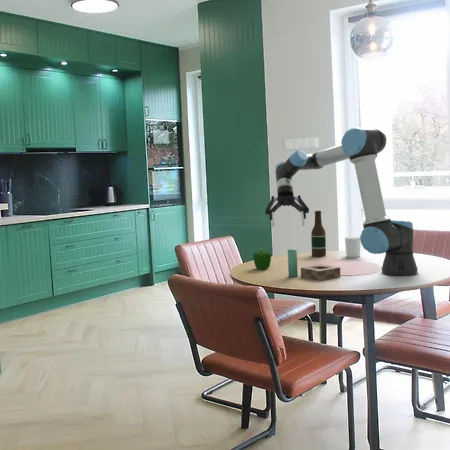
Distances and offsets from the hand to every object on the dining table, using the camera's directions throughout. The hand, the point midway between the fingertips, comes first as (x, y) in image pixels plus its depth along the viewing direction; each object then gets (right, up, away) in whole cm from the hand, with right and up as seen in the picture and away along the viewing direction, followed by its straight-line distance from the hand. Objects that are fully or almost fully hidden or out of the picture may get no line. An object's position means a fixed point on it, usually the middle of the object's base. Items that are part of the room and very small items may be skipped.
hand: (288, 224), depth 268 cm
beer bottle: (+21, -17, +44) cm, 51 cm away
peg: (+1, -23, -9) cm, 25 cm away
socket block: (+13, -23, -12) cm, 29 cm away
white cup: (+38, -17, +37) cm, 55 cm away
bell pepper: (-11, -21, +13) cm, 27 cm away
